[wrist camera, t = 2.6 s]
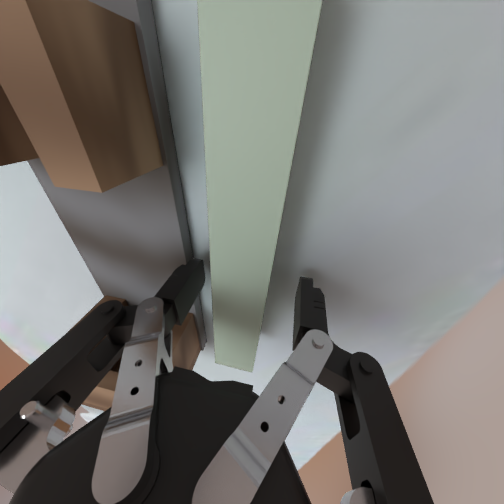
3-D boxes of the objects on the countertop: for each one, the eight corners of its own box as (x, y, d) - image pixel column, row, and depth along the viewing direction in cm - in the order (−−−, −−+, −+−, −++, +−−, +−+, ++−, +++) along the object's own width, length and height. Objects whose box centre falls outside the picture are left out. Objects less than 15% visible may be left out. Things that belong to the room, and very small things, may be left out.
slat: (240, -10, 8) (192, -92, 4) (324, -6, 7) (339, -93, 4) (229, 320, 19) (215, 362, 16) (261, 327, 19) (252, 372, 16)
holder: (-39, -5, 9) (-713, -214, 3) (149, -9, 8) (-370, -382, 2) (130, 324, 23) (70, 400, 17) (206, 341, 22) (170, 430, 16)
